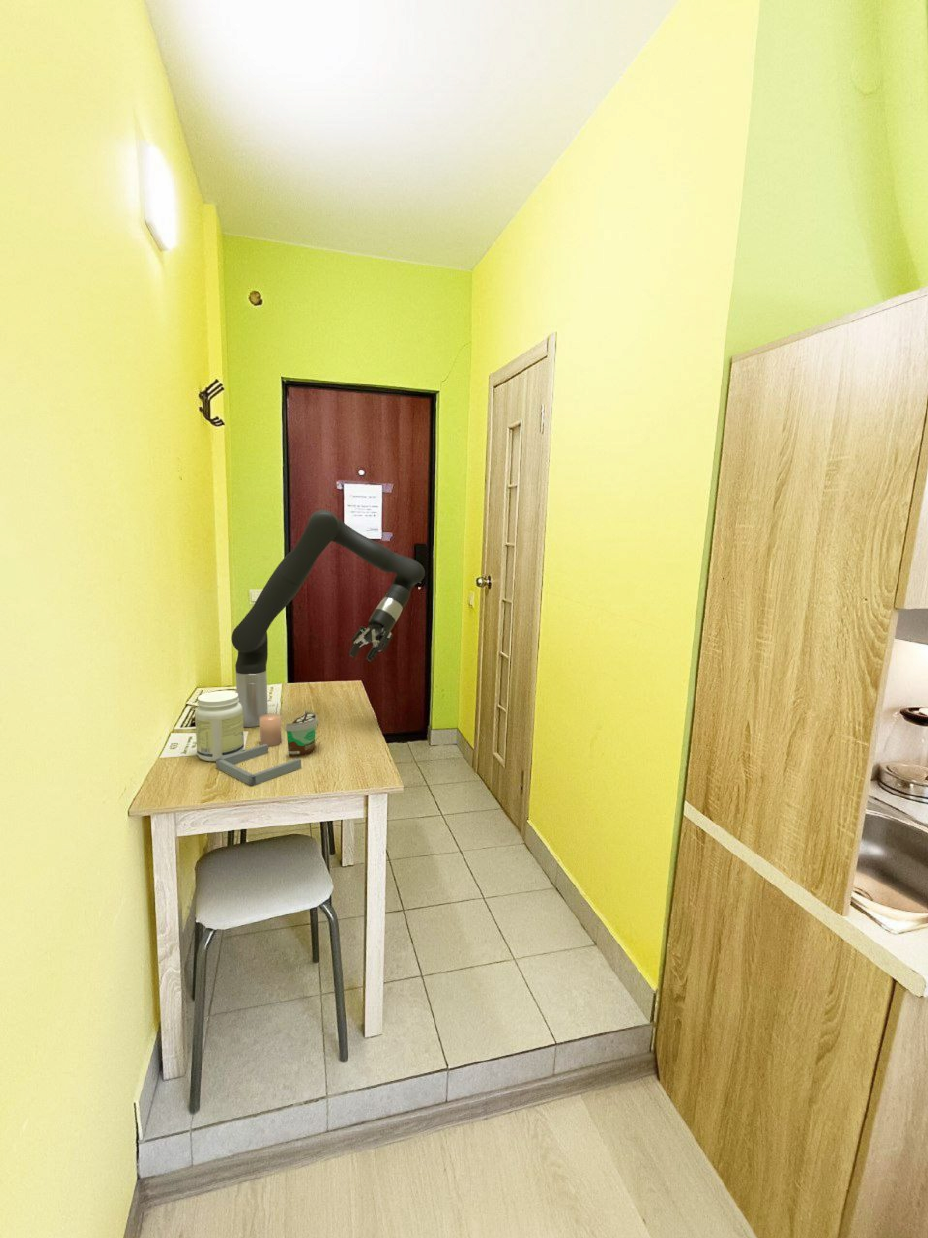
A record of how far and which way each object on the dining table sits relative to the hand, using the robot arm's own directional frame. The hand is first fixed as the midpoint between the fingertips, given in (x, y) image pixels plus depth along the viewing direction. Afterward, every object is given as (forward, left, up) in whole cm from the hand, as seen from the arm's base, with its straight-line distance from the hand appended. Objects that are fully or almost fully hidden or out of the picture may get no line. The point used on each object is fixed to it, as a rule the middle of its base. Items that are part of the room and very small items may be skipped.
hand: (359, 657), depth 178 cm
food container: (0, -20, -24) cm, 31 cm away
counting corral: (0, -35, -24) cm, 43 cm away
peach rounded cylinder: (-13, -23, -24) cm, 36 cm away
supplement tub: (-16, -37, -24) cm, 47 cm away
